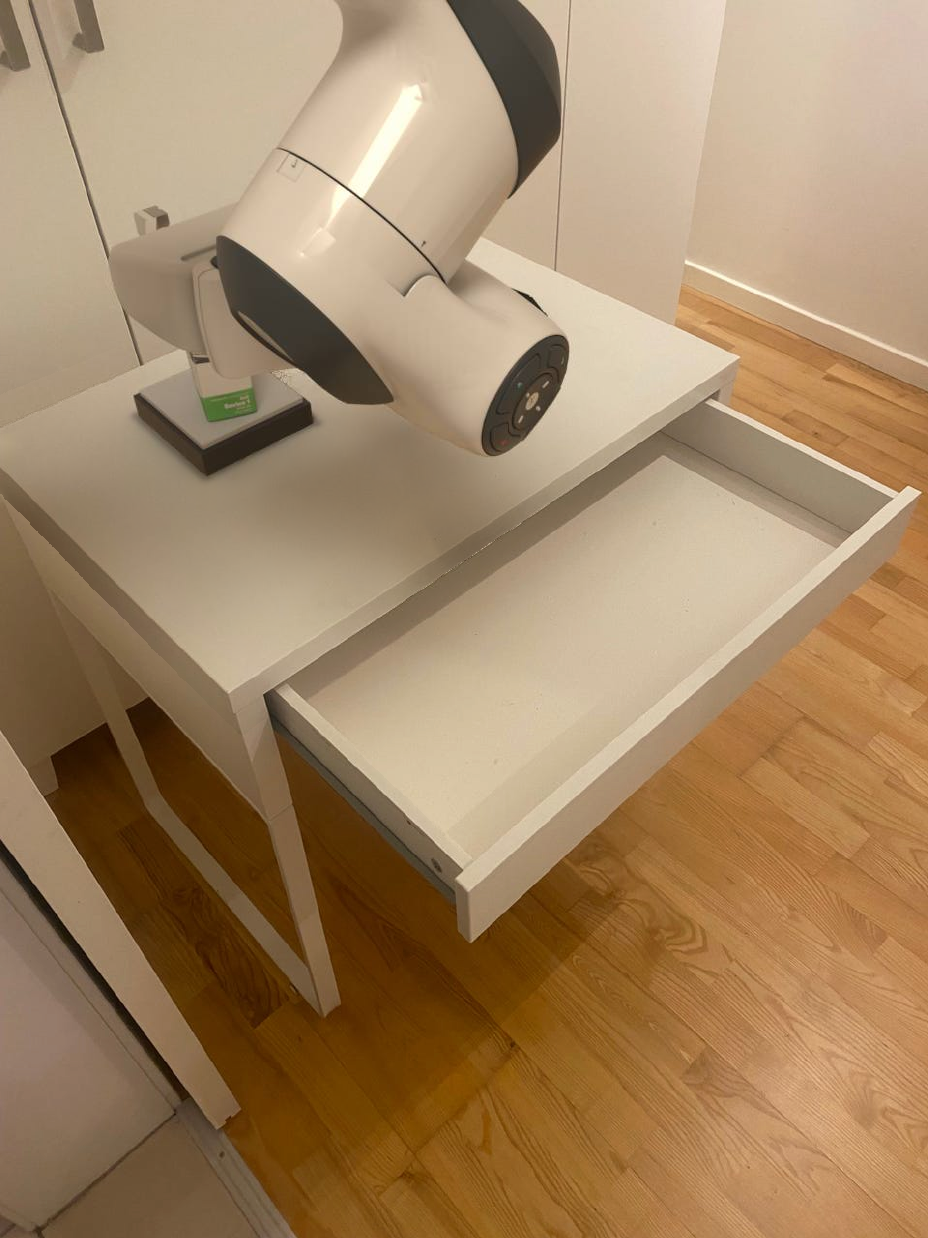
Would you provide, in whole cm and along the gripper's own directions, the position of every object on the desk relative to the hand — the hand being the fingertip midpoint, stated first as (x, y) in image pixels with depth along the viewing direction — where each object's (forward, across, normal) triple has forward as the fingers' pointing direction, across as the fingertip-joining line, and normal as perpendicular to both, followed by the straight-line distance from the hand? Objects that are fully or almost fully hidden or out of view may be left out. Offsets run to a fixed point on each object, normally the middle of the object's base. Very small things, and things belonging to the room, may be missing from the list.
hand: (209, 198), depth 63 cm
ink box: (+14, -5, +25) cm, 29 cm away
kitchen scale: (+14, -5, +28) cm, 32 cm away
